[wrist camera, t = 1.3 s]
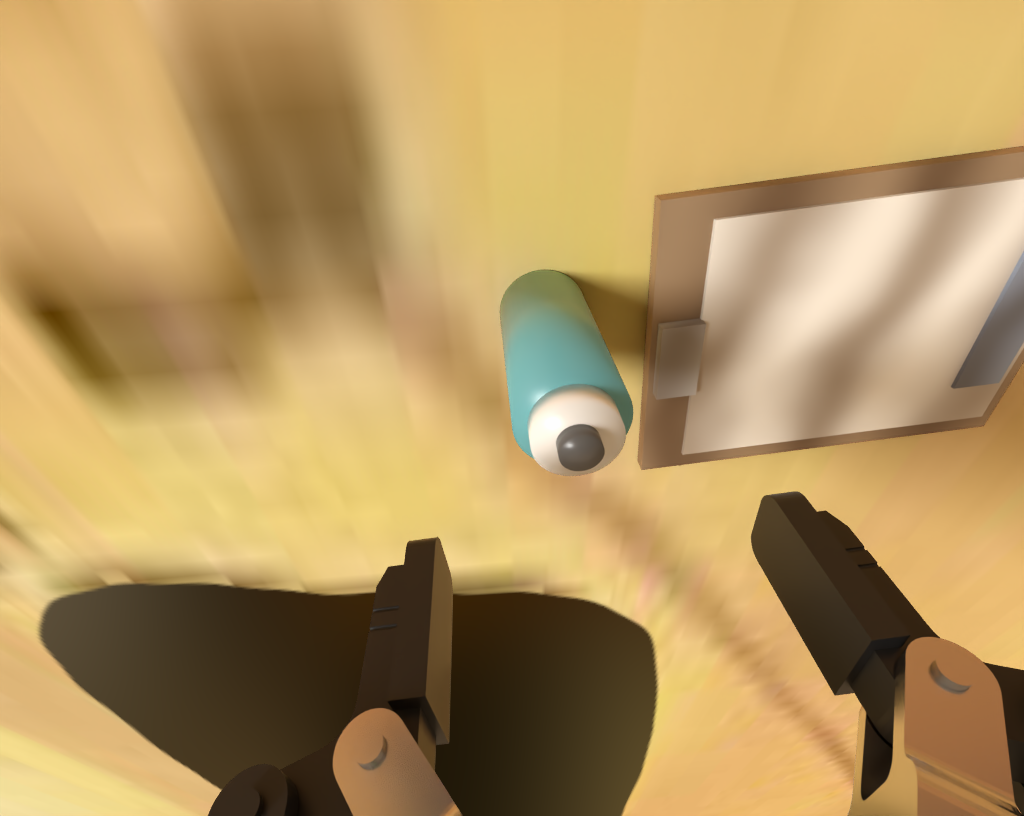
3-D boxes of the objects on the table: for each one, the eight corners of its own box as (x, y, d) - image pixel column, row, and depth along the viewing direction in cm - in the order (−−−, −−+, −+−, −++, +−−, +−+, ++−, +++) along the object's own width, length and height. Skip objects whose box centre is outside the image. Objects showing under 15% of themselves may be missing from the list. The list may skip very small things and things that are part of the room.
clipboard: (1143, 129, 19) (1184, 134, 18) (971, 417, 28) (992, 432, 27) (654, 195, 20) (666, 204, 19) (637, 460, 29) (644, 477, 28)
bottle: (583, 264, 21) (651, 392, 13) (585, 342, 24) (643, 491, 16) (494, 276, 21) (508, 410, 13) (505, 353, 24) (522, 507, 16)
